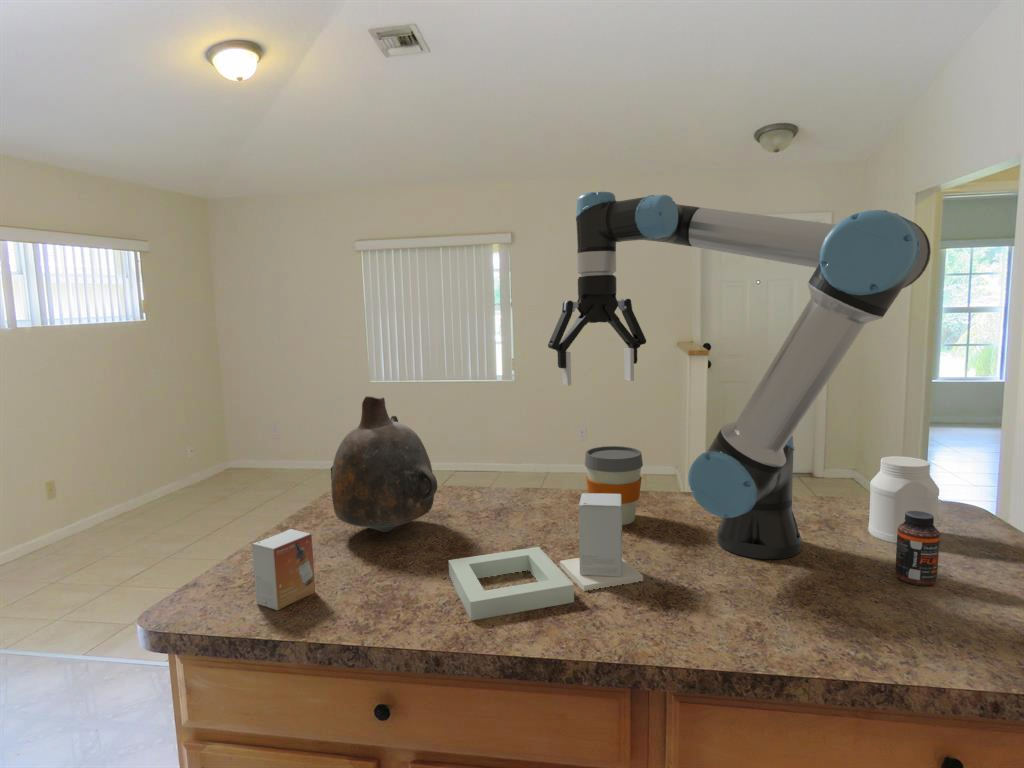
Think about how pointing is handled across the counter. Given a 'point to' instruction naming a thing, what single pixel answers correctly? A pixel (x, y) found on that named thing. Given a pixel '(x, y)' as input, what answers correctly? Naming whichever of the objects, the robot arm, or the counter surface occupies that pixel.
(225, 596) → the counter surface
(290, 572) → the small box
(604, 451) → the reusable coffee cup
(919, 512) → the supplement bottle
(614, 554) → the supplement box
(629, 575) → the tile
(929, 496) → the jar
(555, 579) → the holder
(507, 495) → the counter surface
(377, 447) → the jug
